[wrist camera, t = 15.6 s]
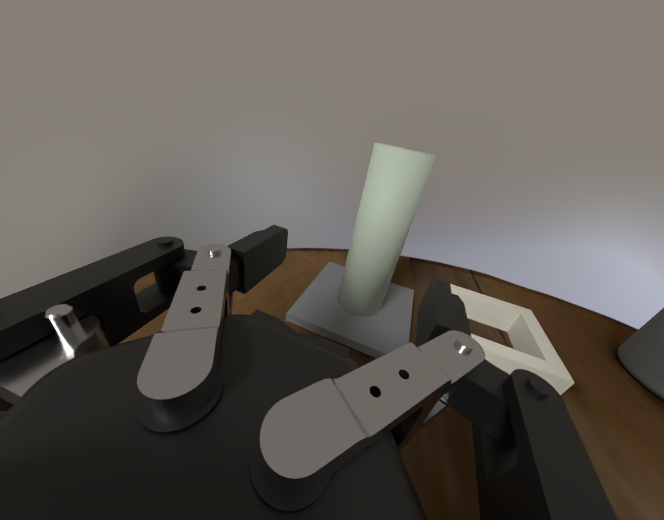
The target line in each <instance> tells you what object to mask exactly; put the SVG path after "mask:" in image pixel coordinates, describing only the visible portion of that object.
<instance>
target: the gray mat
mask: <svg viewBox="0 0 664 520" xmlns="http://www.w3.org/2000/svg"><path fill="white" fill-rule="evenodd" d="M344 268H345V267H344V266H341V265H338V264H335V263H332V262H328V264H327V265H326V266H325V267H324V268H323V270H322V271H321V272H320V273H319V274H318V276H317V277H316V278H315V279H314V280H313V282H312V283H311V284H310V285H309V287H308V288H307V289H306V290H305V291H304V293H303V294H302V295H301V296H300V297H299V299H298V300H297V301H296V302H295V303H294V305H293V306H292V307H291V308H290V309H289V311H288V312H287V313H286V321H288V322H291V323H293V324H295V325H298V326H300V327H303V328H305V329H307V330H310V331H312V332H315V333H317V334H319V335H322V336H324V337H327V338H329V339H331V340H334V341H336V342H339V343H341V344H343V345H346V346H348V347H351V348H353V349H355V350H358V351H360V352H362V353H365V354H367V355H370V356H372V357H374V358H377V359H378V358H380V357H382V356H384V355H386V354H388V353H390V352H392V351H394V350H396V349H398V348H400V347H402V346H404V345H406V344H408V343H409V336H410V326H411V316H412V306H413V296H414V290H412V289H409V288H406V287H403V286H400V285H397V284H394V283H391V282H390V284H389V286H388V289H387V292H386V294H385V297H384V300H383V303H382V305H381V308H380V310H379V312H378V313H377V314H375V315H372V316H359V315H355V314H352V313H350V312H348V311H347V310H345V309H344V308H343V307H342V306H341V305H340V303H339V301H338V293H339V289H340V285H341V280H342V276H343V272H344Z"/></svg>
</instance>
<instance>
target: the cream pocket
mask: <svg viewBox="0 0 664 520" xmlns="http://www.w3.org/2000/svg"><path fill="white" fill-rule="evenodd" d="M450 285H451V292H452V294H455V295H458V296H459V297H460V298H461V300H462V301H463V302H464V305H465V309H466V311H465V312H466V314H467V318H469V319H472V320H475V321H477V322H480V323H483V324H486V325H489V326H492V327H495V328H498V329H500V330H503V331H506V332H507V333H508V336H509V338H510V341H511V343H512V345H513V348H514V349H512V348H509V347H506V346H503V345H501V344H498V343H495V342H492V341H490V340H487V339H484V338H481V337H478V336H476V335H473V334H471V337H472V338H473V339H475V340H476V341H477V342H478V343H479V344H480V345H481V346H482V348H483V350H484V352H485V359H486V360H487V361H489V362H490V363H492V364H493V365H495V366H496V367H498V368H500V369H501V370H503V371H505V372H506V373H508V374H511V373H512V372H513V371H514V370H516V369H524V370H528V371H530V372H533V373H535V374H537V375H538V376H540V377H541V378H543V379H544V380H546V381H547V382H548V383H549V384H550V385H552V386H553V387H554V388H555V389H556V391H557V392H558V393H559V394H560V395H561V394H562V393H564V392H565V391H566V390H567V389H568V388H569V387H570V386H571V385H573V384H574V383H575V382H574V381H573V379H572V377H571V376H570V374H569V373H568V371H567V369H566V368H565V366H564V364H563V363H562V361H561V359H560V358H559V356H558V354H557V353H556V351H555V349H554V348H553V346H552V344H551V343H550V341H549V339H548V338H547V336H546V334H545V333H544V331H543V329H542V328H541V326H540V324H539V323H538V321H537V319H536V318H535V316H534V314H533V313H532V311H531V310H529V309H526V308H523V307H520V306H517V305H514V304H511V303H507V302H504V301H501V300H498V299H495V298H492V297H489V296H486V295H483V294H480V293H477V292H473V291H470V290H467V289H464V288H461V287H458V286H455V285H452V284H450Z"/></svg>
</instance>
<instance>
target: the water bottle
mask: <svg viewBox="0 0 664 520" xmlns="http://www.w3.org/2000/svg"><path fill="white" fill-rule="evenodd" d="M618 357H619V359H620V361H621V363H622V364H623V366H624V367H625V368H626V369H627V370H628V372H629V373H630V374H631V375H632V376H633V377H634V378H636V379H637V380H638V381H639V382H640V383H641V384H642V385H644V386H645V387H646V388H647V389H649V390H650V391H651V392H653V393H654V394H655V395H657V396H658V397H660V398H661V399H663V400H664V308H663V309H662V310H661V311H660V312H658V313H657V314H656V315H655V316H654V317H653V318H651V319H650V320H649V321H648V322H647V323H646V324H645V325H644V326H642V327H641V328H640V329H639V330H638V331H637V332H635V333H634V334H633V335H632V336H631V337H630V338H629V339H627V340H626V341H625V342H624V343H623V344H622V345H621V346H620V347H619V349H618Z"/></svg>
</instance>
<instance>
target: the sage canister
mask: <svg viewBox="0 0 664 520" xmlns="http://www.w3.org/2000/svg"><path fill="white" fill-rule="evenodd" d="M435 158H436V155H432V154H429V153H424V152H420V151H416V150H411V149H407V148H402V147H398V146H393V145H388V144H382V143H375V144H374V149H373V153H372V157H371V161H370V165H369V169H368V173H367V178H366V182H365V186H364V190H363V194H362V198H361V202H360V206H359V211H358V215H357V219H356V223H355V227H354V231H353V235H352V239H351V244H350V247H349V252H348V256H347V260H346V264H345V268H344V272H343V276H342V280H341V285H340V289H339V293H338V301H339V303H340V305H341V306H342V307H343V308H344V309H345V310H347V311H348V312H350V313H352V314H355V315H359V316H372V315H375V314H377V313H378V312H379V310H380V308H381V305H382V303H383V300H384V297H385V294H386V292H387V289H388V286H389V284H390V281H391V278H392V275H393V273H394V270H395V267H396V265H397V262H398V259H399V256H400V254H401V251H402V248H403V245H404V243H405V240H406V237H407V234H408V232H409V229H410V226H411V224H412V221H413V218H414V215H415V213H416V210H417V207H418V205H419V202H420V199H421V196H422V194H423V191H424V188H425V185H426V182H427V180H428V177H429V174H430V172H431V169H432V166H433V164H434V161H435Z"/></svg>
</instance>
